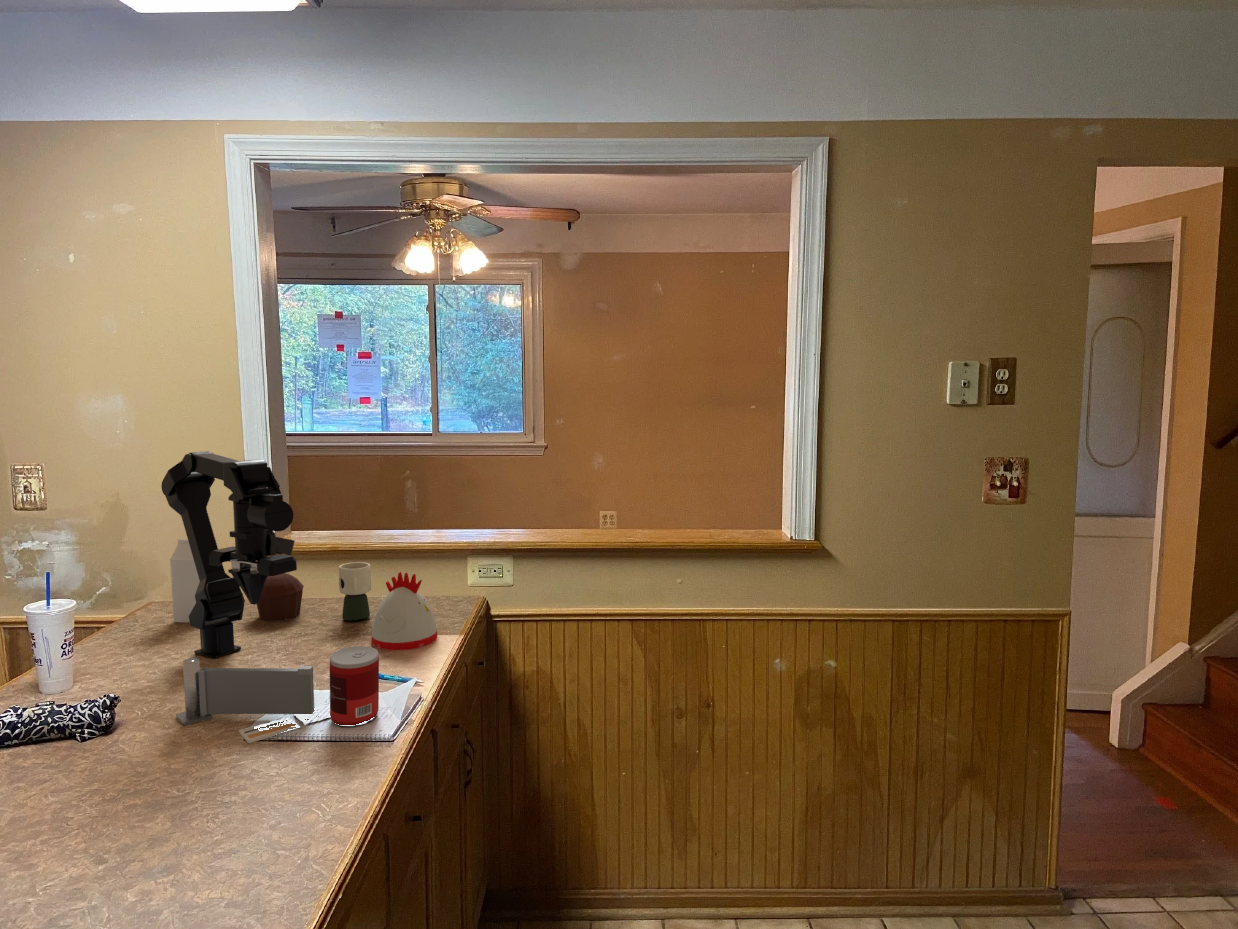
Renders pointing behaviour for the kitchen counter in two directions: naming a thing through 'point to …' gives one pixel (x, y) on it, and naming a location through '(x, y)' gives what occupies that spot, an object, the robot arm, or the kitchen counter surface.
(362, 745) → the kitchen counter surface
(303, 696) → the hinge panel
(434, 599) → the kitchen counter surface
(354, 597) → the character mug
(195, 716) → the hinge post
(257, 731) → the label plate beige
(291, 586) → the muffin
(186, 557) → the milk carton
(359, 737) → the kitchen counter surface
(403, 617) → the kitchen timer
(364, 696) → the canned food
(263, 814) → the kitchen counter surface
